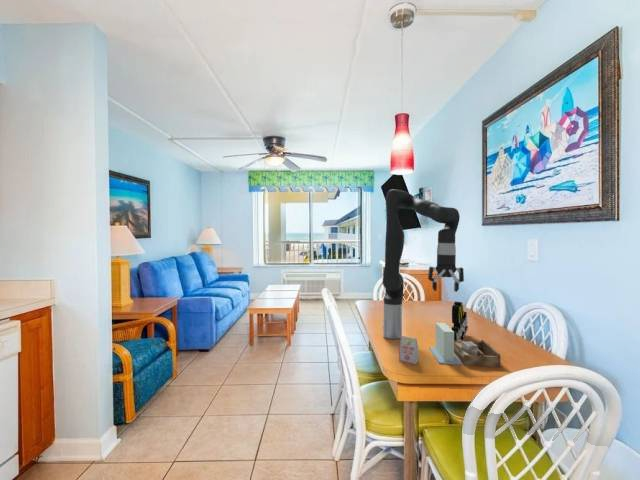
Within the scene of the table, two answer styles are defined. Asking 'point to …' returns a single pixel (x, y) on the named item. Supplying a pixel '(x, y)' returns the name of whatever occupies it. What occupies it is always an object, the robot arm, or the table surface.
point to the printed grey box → (408, 350)
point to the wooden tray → (480, 355)
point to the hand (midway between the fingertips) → (445, 291)
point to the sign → (459, 321)
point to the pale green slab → (445, 341)
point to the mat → (440, 360)
